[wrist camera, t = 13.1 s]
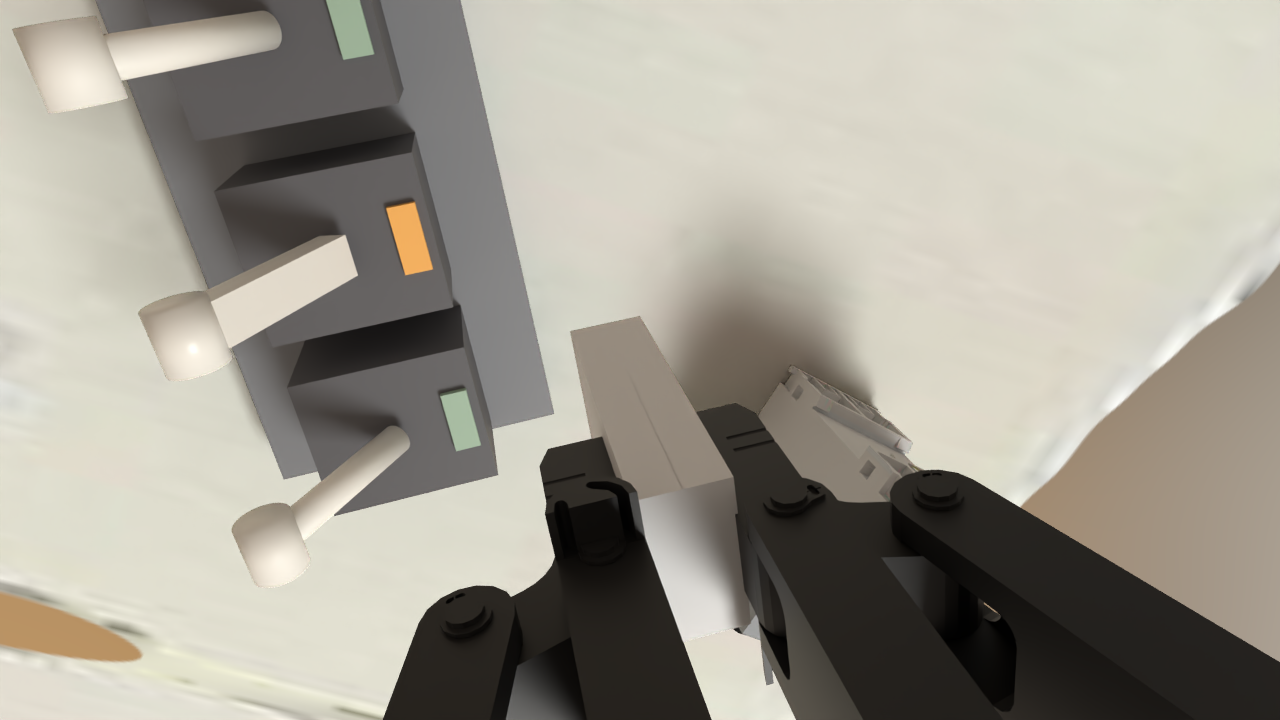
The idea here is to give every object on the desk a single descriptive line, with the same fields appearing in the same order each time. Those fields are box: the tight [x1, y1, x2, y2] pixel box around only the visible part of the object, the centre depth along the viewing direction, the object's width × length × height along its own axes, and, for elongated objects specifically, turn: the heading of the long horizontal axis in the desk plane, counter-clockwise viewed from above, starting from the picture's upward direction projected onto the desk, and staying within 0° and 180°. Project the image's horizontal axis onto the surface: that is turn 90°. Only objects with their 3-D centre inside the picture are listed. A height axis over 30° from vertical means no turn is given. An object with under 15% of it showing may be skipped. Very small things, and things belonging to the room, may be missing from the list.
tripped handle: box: [138, 235, 358, 381], centre depth 32 cm, size 2×2×9 cm
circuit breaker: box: [734, 365, 923, 640], centre depth 50 cm, size 8×14×15 cm, turn 148°
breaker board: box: [12, 0, 554, 588], centre depth 37 cm, size 15×26×17 cm, turn 9°
